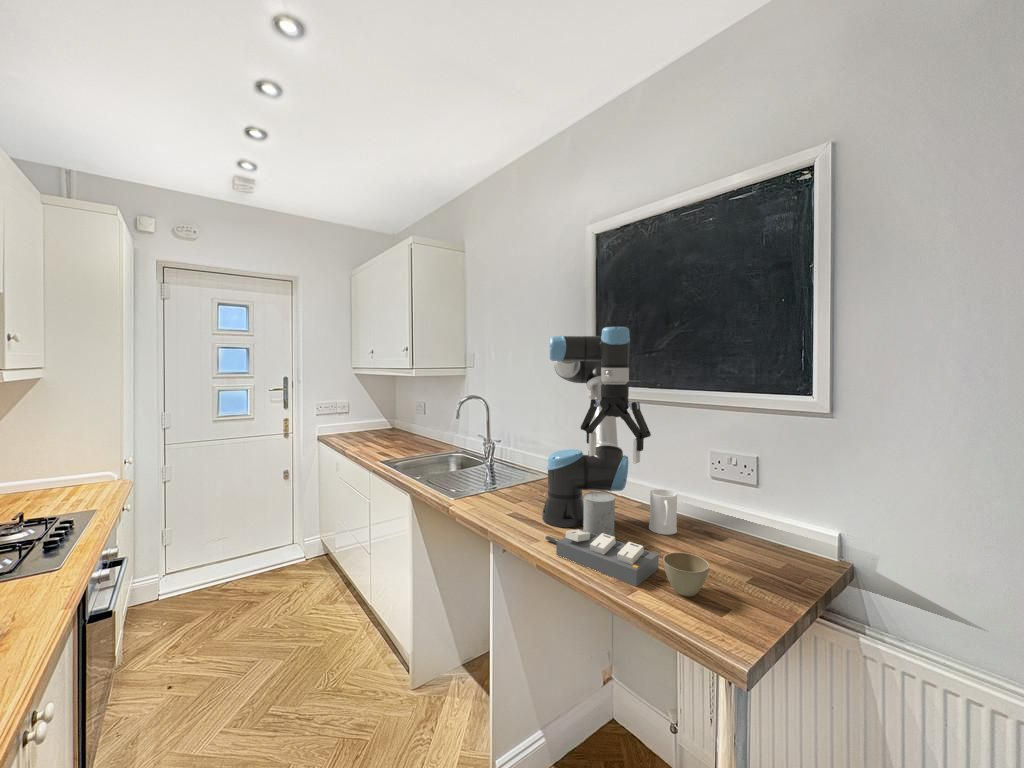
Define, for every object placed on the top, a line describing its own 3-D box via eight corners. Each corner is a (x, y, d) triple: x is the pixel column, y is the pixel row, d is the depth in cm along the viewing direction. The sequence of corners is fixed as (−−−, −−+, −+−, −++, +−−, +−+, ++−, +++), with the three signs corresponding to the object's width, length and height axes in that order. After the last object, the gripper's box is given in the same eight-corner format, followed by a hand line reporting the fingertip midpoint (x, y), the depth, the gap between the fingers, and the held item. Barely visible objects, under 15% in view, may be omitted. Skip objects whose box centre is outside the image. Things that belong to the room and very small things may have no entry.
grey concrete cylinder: (616, 532, 138) (616, 493, 137) (612, 544, 129) (613, 503, 128) (585, 528, 141) (586, 490, 140) (580, 539, 132) (580, 499, 131)
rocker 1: (565, 537, 120) (566, 530, 120) (577, 535, 125) (578, 529, 125) (577, 541, 118) (578, 534, 118) (589, 539, 122) (590, 532, 122)
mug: (679, 540, 131) (680, 501, 131) (650, 537, 134) (650, 498, 133) (675, 526, 143) (676, 489, 142) (648, 523, 145) (649, 487, 144)
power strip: (532, 546, 127) (532, 532, 127) (558, 534, 136) (558, 521, 135) (636, 586, 104) (636, 569, 104) (658, 569, 113) (658, 553, 113)
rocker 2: (590, 550, 115) (589, 543, 115) (602, 539, 119) (602, 532, 119) (603, 554, 112) (603, 548, 112) (615, 543, 117) (615, 536, 116)
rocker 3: (617, 559, 110) (617, 553, 109) (629, 547, 114) (628, 541, 113) (632, 564, 107) (631, 558, 107) (643, 552, 111) (643, 545, 111)
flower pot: (655, 581, 107) (656, 552, 107) (694, 579, 108) (695, 551, 108) (674, 603, 97) (674, 572, 97) (717, 601, 98) (717, 570, 98)
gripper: (569, 381, 126) (568, 454, 127) (652, 385, 110) (651, 468, 111) (582, 380, 132) (582, 450, 133) (664, 384, 116) (662, 463, 117)
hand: (613, 458), depth 122 cm, fingers open, 13 cm apart
